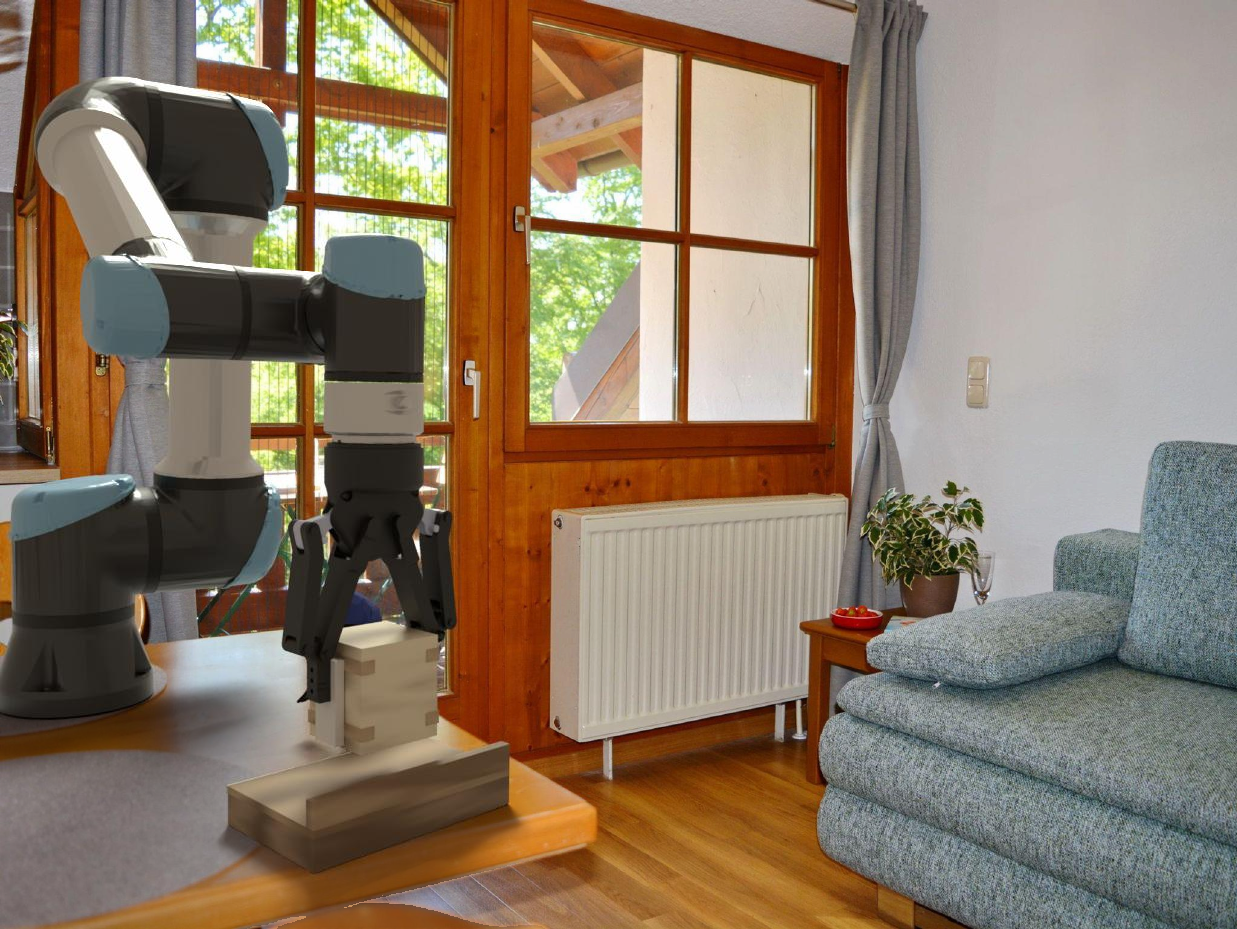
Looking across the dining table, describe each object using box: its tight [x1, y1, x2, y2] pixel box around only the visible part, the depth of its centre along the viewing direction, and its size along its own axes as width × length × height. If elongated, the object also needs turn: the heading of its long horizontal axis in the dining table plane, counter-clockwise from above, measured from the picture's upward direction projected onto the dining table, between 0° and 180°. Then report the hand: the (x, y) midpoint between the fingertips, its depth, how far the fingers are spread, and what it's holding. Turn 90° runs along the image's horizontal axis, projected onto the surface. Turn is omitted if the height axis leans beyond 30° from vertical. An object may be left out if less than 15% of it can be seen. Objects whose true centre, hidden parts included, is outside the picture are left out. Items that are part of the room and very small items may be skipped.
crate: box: [307, 620, 441, 756], centre depth 85 cm, size 7×7×8 cm
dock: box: [226, 737, 511, 874], centre depth 86 cm, size 12×18×5 cm
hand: (373, 730), depth 85 cm, fingers closed on crate, 7 cm apart
